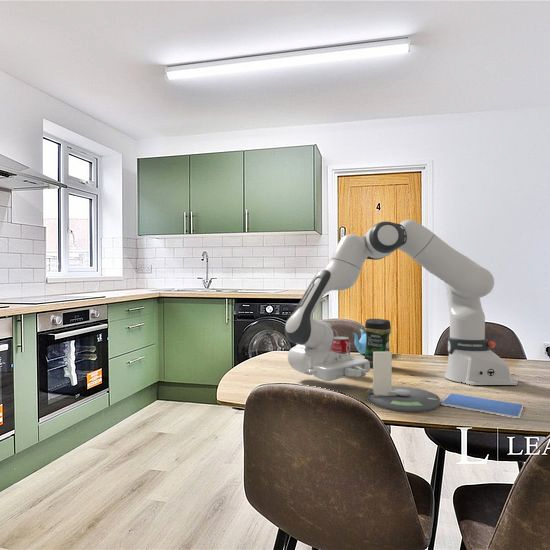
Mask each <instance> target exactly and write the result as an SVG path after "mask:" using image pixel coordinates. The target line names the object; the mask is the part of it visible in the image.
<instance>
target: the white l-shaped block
mask: <svg viewBox="0 0 550 550" xmlns="http://www.w3.org/2000/svg"><path fill="white" fill-rule="evenodd" d="M392 357H393V354H392V351H390V350H389V351H388V352H373V368H372V389H373V393H369V395H400V396H409V395H411V392H410V391H409V390H404V389H397V390H395V391H391V386H392V381H393V380H392V376H393V375H392V372H393V371H392V368H393V367H392V362H393V360H392Z"/></svg>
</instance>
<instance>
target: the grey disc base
mask: <svg viewBox="0 0 550 550" xmlns="http://www.w3.org/2000/svg"><path fill="white" fill-rule="evenodd" d="M397 389H404V390H409V391H410V392H411V395H409V396H400V395H369V393H373V388H370V389H368V390H367V391H366V401H367V400H368V401H369V402H370V404H371V403H372V404H371V405H373V404H374V405H373V406H375V405H376V407H378V408H382V409H384V408H385V409H384V410H388V409H389V410H390V411H395V412H403V413H422V412H423V413H424V412H425V411H426V412H429V411H430V410H431V411H435V410H437V409H438V408H440V406H441V405H440V404H441V398H440V397H439V396H438V395H437V394H435V393H434V392H431V391H429V390H426V389H421V388H416V387H411V386H410V387H409V386H399V385H397V386H395V385H393V386H392V385H391V391H395V390H397ZM368 401H367V402H368ZM436 408H437V409H436ZM434 409H435V410H434ZM431 411H430V412H431Z"/></svg>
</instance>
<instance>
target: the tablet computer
mask: <svg viewBox="0 0 550 550" xmlns="http://www.w3.org/2000/svg"><path fill="white" fill-rule="evenodd" d="M440 404H441V405H440V406H442V405H444V407H447V406H450V407H449V408H453V407H455V408H454V409H459V408H461V409H460V410H464V409H467V410H466V411H470V410H473V411H472V412H475V411H480V412H479V413H481V412H485V413H484V414H487V413H492V414H499V415H504V416H510V417H516V418H519V417H520V415H521V416H522V414H521V412H522V410H523V411H524V409H523V407H524V408H525V405H523V404H521V403H513V402H507V401H501V400H495V399H488V398H483V397H477V396H472V395H471V396H470V395H466V394H465V395H464V394H460V393H459V394H458V393H449V394H447V396H446V397H445V398H444V399H443V400H441V401H440ZM522 413H523V412H522ZM492 414H491V415H492ZM520 418H521V417H520Z"/></svg>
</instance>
